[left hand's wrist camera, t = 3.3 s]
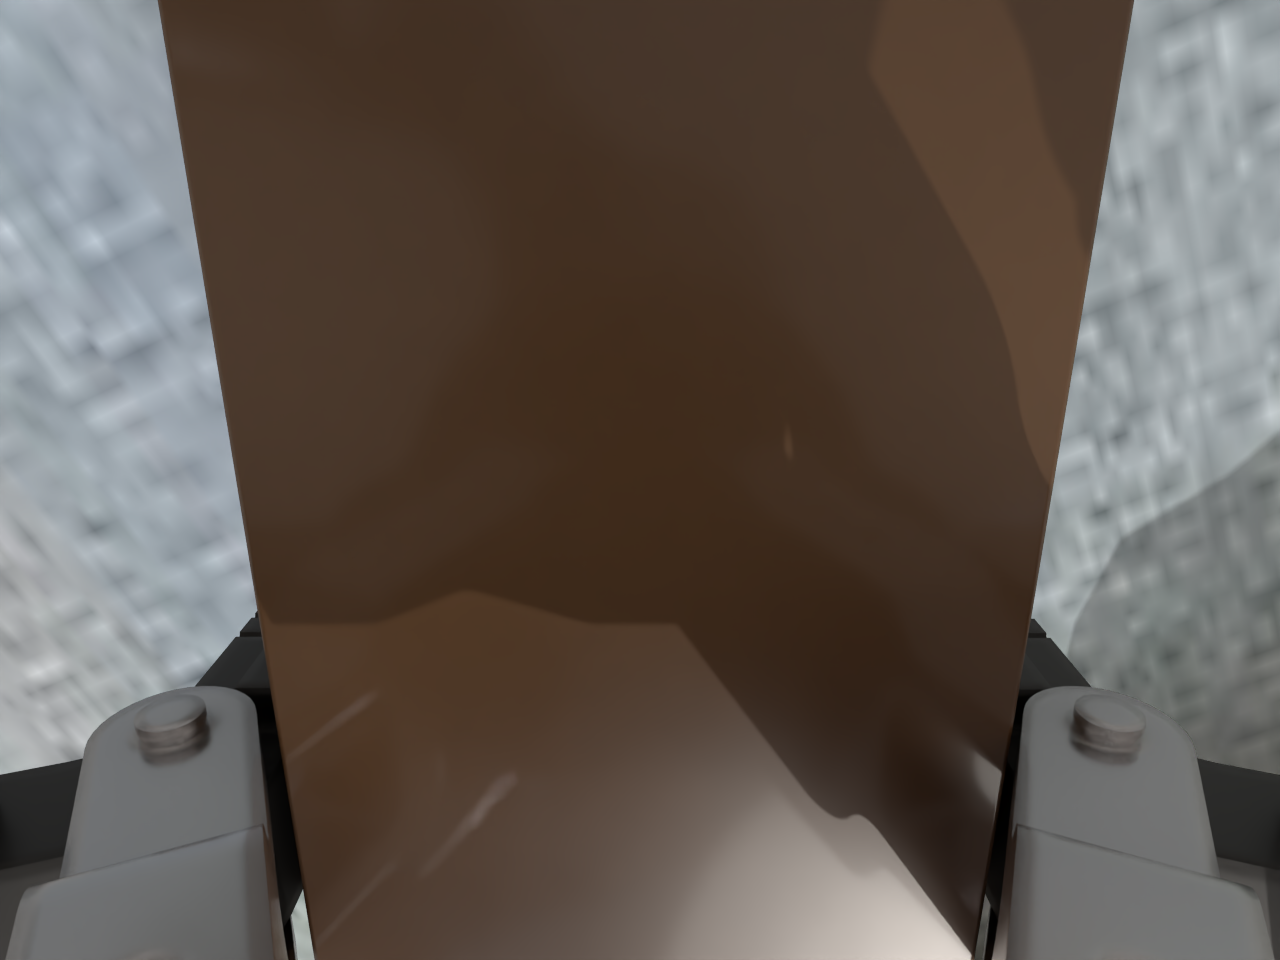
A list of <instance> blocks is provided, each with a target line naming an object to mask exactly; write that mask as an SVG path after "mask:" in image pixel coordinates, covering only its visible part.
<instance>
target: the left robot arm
mask: <svg viewBox="0 0 1280 960" xmlns="http://www.w3.org/2000/svg"><path fill="white" fill-rule="evenodd" d="M302 890H303V885H302V879H301V873H300V866H299V860H298V854H297V848H296V842H295V836H294V830H293V824H292V818H291V811H290V805H289V799H288V793H287V787H286V781H285V775H284V769H283V763H282V756H281V750H280V744H279V738H278V732H277V726H276V720H275V714H274V707H273V701H272V695H271V689H270V683H269V677H268V671H267V665H266V659H265V652H264V646H263V640H262V634H261V628H260V622H259V616H258V611H257V612H256V613H255V618H251V619H250V620H249V622H248V623H247V624H246V625H245V626H244V628H243V629H242V630H241V631H240V637H235V639H234V640H233V641H232V642H231V643H230V645H229V646H228V647H227V648H226V649H225V651H224V652H223V653H222V654H221V655H220V657H219V658H218V659H217V660H216V662H215V663H214V664H213V665H212V666H211V668H210V669H209V670H208V671H207V672H206V674H205V675H204V676H203V677H202V678H201V680H200V681H199V682H198V683H197V685H196V686H195V687H187V688H182V689H176V690H172V691H168V692H163V693H160V694H157V695H154V696H151V697H148V698H145V699H143V700H141V701H138V702H136V703H134V704H132V705H130V706H128V707H126V708H124V709H122V710H120V711H119V712H117V713H116V714H114V715H112V716H111V717H110V718H108V719H107V720H106V721H105V722H103V723H102V724H101V725H100V726H99V727H98V728H97V729H96V730H95V731H94V732H93V734H92V735H91V737H90V738H89V740H88V741H87V744H86V747H85V751H84V756H83V759H79V760H75V761H70V762H65V763H60V764H55V765H49V766H44V767H39V768H34V769H28V770H23V771H18V772H13V773H8V774H2V775H0V960H298V958H297V949H296V941H295V934H294V928H293V923H292V917H291V914H292V912H293V910H294V907H295V905H296V903H297V901H298V899H299V896H300V894H301V892H302ZM985 894H986V896H987V898H988V900H989V902H990V911H989V916H988V922H987V928H986V934H985V940H984V949H983V957H982V960H1280V775H1276V774H1271V773H1266V772H1261V771H1255V770H1250V769H1245V768H1240V767H1234V766H1229V765H1224V764H1219V763H1214V762H1210V761H1206V760H1202V759H1198V758H1197V756H1196V751H1195V747H1194V744H1193V741H1192V740H1191V738H1190V737H1189V735H1188V734H1187V732H1186V731H1185V730H1184V729H1183V728H1182V727H1181V726H1180V725H1179V724H1178V723H1177V722H1175V721H1174V720H1173V719H1172V718H1170V717H1169V716H1168V715H1166V714H1164V713H1163V712H1161V711H1160V710H1158V709H1156V708H1154V707H1152V706H1150V705H1148V704H1146V703H1144V702H1142V701H1139V700H1137V699H1135V698H1132V697H1129V696H1126V695H1123V694H1120V693H1117V692H1112V691H1108V690H1104V689H1098V688H1093V687H1091V686H1090V685H1089V684H1088V682H1087V681H1086V680H1085V679H1084V678H1083V676H1082V675H1081V674H1080V673H1079V672H1078V671H1077V669H1076V668H1075V667H1074V666H1073V665H1072V663H1071V662H1070V661H1069V660H1068V659H1067V657H1066V656H1065V655H1064V654H1063V653H1062V651H1061V650H1060V649H1059V648H1058V647H1057V645H1056V644H1055V643H1054V642H1053V641H1052V639H1051V638H1046V632H1045V631H1044V630H1043V629H1042V628H1041V626H1040V625H1039V624H1038V623H1037V622H1036V620H1035V619H1031V621H1030V627H1029V633H1028V639H1027V645H1026V651H1025V657H1024V663H1023V669H1022V675H1021V681H1020V687H1019V693H1018V699H1017V705H1016V711H1015V717H1014V723H1013V729H1012V735H1011V741H1010V747H1009V753H1008V759H1007V765H1006V771H1005V777H1004V783H1003V789H1002V795H1001V801H1000V807H999V813H998V819H997V825H996V831H995V837H994V843H993V849H992V855H991V861H990V867H989V873H988V879H987V885H986V891H985Z"/></svg>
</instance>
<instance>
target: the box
mask: <svg viewBox="0 0 1280 960" xmlns="http://www.w3.org/2000/svg"><path fill="white" fill-rule="evenodd" d="M158 4H159V10H160V16H161V23H162V29H163V35H164V41H165V47H166V53H167V59H168V65H169V71H170V78H171V84H172V90H173V96H174V102H175V108H176V114H177V120H178V127H179V133H180V139H181V145H182V151H183V157H184V163H185V169H186V175H187V182H188V188H189V194H190V200H191V206H192V212H193V218H194V224H195V230H196V237H197V243H198V249H199V255H200V261H201V267H202V273H203V279H204V286H205V292H206V298H207V304H208V310H209V316H210V322H211V328H212V334H213V341H214V347H215V353H216V359H217V365H218V371H219V377H220V383H221V389H222V396H223V402H224V408H225V414H226V420H227V426H228V432H229V438H230V445H231V451H232V457H233V463H234V469H235V475H236V481H237V487H238V493H239V500H240V506H241V512H242V518H243V524H244V530H245V536H246V542H247V548H248V555H249V561H250V567H251V573H252V579H253V585H254V591H255V597H256V604H257V610H258V616H259V622H260V628H261V634H262V640H263V646H264V652H265V659H266V665H267V671H268V677H269V683H270V689H271V695H272V701H273V707H274V714H275V720H276V726H277V732H278V738H279V744H280V750H281V756H282V763H283V769H284V775H285V781H286V787H287V793H288V799H289V805H290V811H291V818H292V824H293V830H294V836H295V842H296V848H297V854H298V860H299V866H300V873H301V879H302V885H303V891H304V897H305V903H306V909H307V915H308V922H309V928H310V934H311V940H312V946H313V952H314V958H315V960H974V956H975V951H976V945H977V939H978V933H979V927H980V921H981V915H982V909H983V903H984V897H985V891H986V885H987V879H988V873H989V867H990V861H991V855H992V849H993V843H994V837H995V831H996V825H997V819H998V813H999V807H1000V801H1001V795H1002V789H1003V783H1004V777H1005V771H1006V765H1007V759H1008V753H1009V747H1010V741H1011V735H1012V729H1013V723H1014V717H1015V711H1016V705H1017V699H1018V693H1019V687H1020V681H1021V675H1022V669H1023V663H1024V657H1025V651H1026V645H1027V639H1028V633H1029V627H1030V621H1031V615H1032V609H1033V603H1034V597H1035V591H1036V585H1037V579H1038V573H1039V567H1040V561H1041V555H1042V549H1043V543H1044V537H1045V531H1046V525H1047V519H1048V513H1049V507H1050V501H1051V495H1052V489H1053V483H1054V477H1055V471H1056V465H1057V459H1058V453H1059V447H1060V441H1061V435H1062V429H1063V423H1064V417H1065V411H1066V405H1067V399H1068V393H1069V387H1070V381H1071V375H1072V369H1073V363H1074V357H1075V351H1076V345H1077V339H1078V333H1079V327H1080V321H1081V315H1082V309H1083V303H1084V297H1085V291H1086V285H1087V279H1088V273H1089V267H1090V261H1091V255H1092V249H1093V243H1094V237H1095V231H1096V225H1097V219H1098V213H1099V207H1100V201H1101V195H1102V189H1103V183H1104V177H1105V171H1106V165H1107V159H1108V153H1109V147H1110V142H1111V136H1112V130H1113V124H1114V118H1115V112H1116V106H1117V100H1118V94H1119V88H1120V82H1121V76H1122V70H1123V64H1124V58H1125V52H1126V46H1127V40H1128V34H1129V28H1130V22H1131V16H1132V10H1133V4H1134V0H158Z"/></svg>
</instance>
